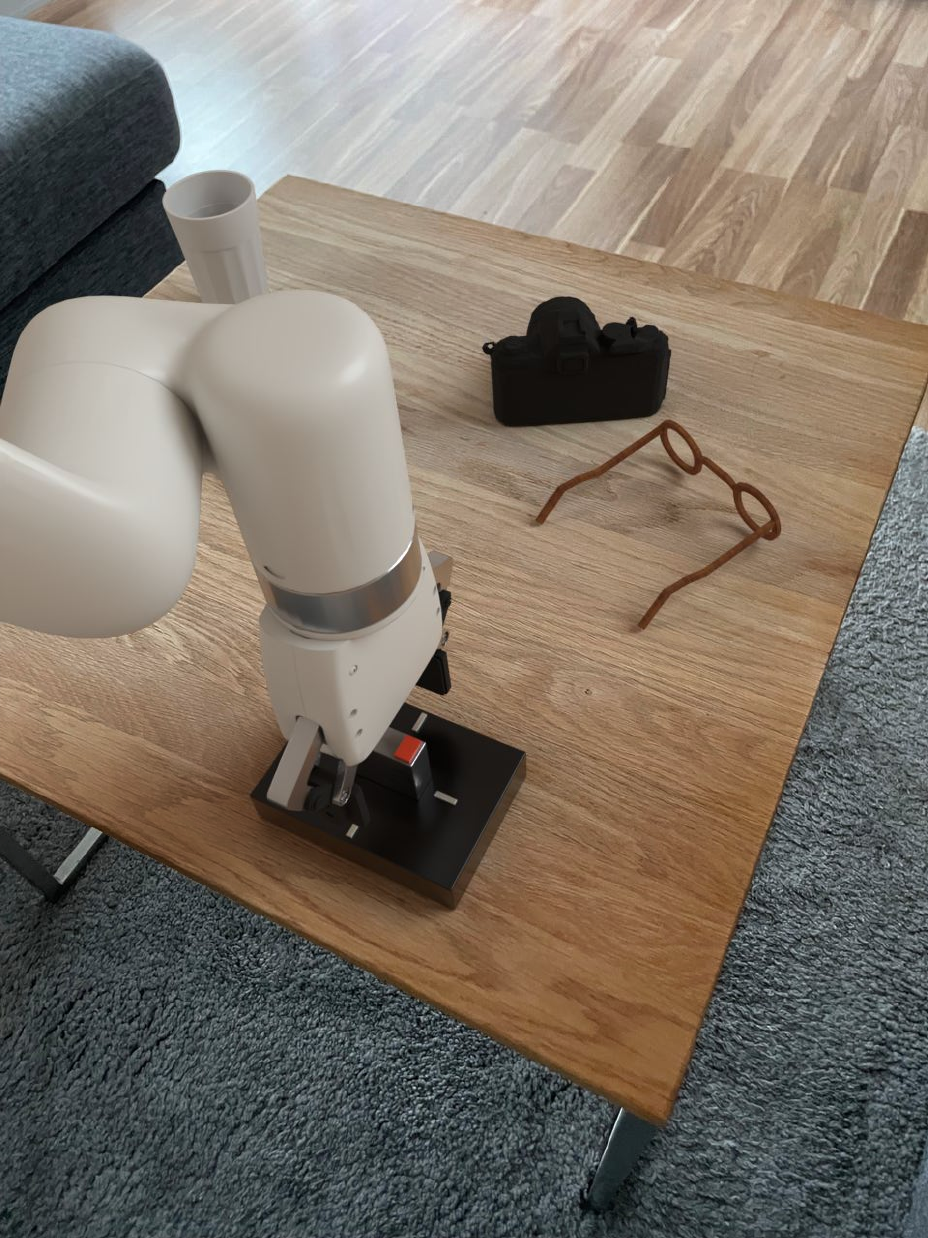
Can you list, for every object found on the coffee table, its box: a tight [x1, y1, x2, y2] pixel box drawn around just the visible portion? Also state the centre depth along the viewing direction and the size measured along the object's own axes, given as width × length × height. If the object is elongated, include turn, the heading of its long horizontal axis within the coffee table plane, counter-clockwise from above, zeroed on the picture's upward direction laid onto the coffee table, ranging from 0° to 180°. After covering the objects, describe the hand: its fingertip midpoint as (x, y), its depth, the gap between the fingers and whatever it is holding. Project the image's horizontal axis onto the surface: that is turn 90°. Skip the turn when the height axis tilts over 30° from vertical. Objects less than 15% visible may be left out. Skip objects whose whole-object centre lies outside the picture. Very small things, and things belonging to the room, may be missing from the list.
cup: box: [162, 169, 271, 304], centre depth 93 cm, size 8×8×12 cm
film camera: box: [481, 295, 672, 427], centre depth 84 cm, size 15×10×9 cm, turn 92°
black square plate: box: [249, 701, 527, 911], centre depth 64 cm, size 14×10×3 cm
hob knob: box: [356, 727, 432, 801], centre depth 61 cm, size 5×2×4 cm, turn 63°
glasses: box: [534, 419, 782, 631], centre depth 75 cm, size 13×13×5 cm
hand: (387, 746), depth 60 cm, fingers open, 9 cm apart
